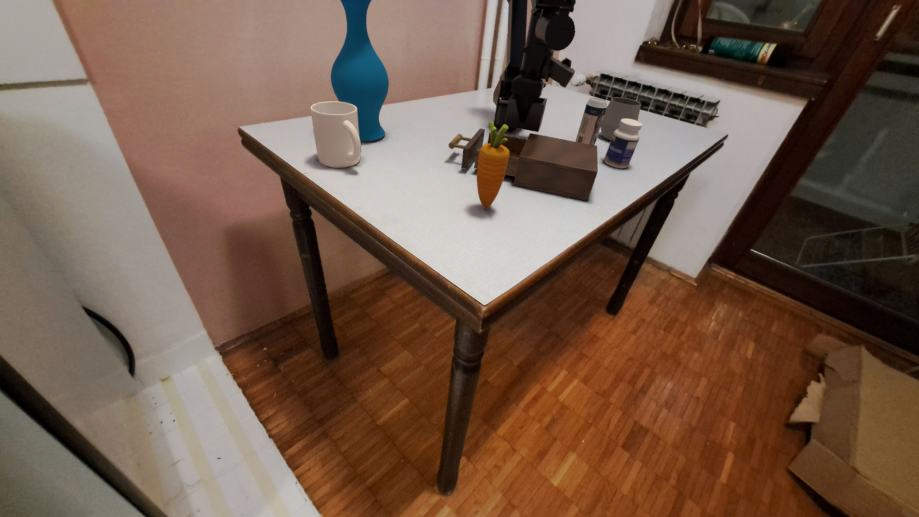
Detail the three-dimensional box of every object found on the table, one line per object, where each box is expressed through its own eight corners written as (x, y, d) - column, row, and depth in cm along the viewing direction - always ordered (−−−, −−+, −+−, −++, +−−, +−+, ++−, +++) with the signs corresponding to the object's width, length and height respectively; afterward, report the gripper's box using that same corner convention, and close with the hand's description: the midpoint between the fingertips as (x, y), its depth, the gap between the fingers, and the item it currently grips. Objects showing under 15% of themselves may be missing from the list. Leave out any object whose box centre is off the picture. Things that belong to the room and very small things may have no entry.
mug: (379, 169, 72) (376, 116, 66) (341, 179, 67) (334, 123, 61) (347, 149, 78) (342, 99, 72) (310, 157, 74) (302, 104, 67)
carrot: (470, 201, 66) (481, 115, 56) (496, 202, 66) (512, 118, 57) (473, 215, 62) (485, 126, 53) (501, 216, 62) (518, 128, 53)
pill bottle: (598, 160, 88) (613, 118, 82) (616, 158, 90) (631, 117, 84) (615, 170, 84) (631, 126, 78) (633, 167, 86) (650, 125, 80)
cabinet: (513, 185, 73) (519, 155, 69) (524, 159, 84) (529, 132, 80) (587, 201, 70) (597, 171, 66) (588, 172, 81) (597, 145, 78)
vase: (396, 130, 90) (395, -8, 73) (379, 148, 81) (373, -7, 63) (350, 123, 91) (338, -16, 74) (327, 140, 82) (307, -16, 64)
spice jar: (593, 155, 90) (609, 104, 83) (573, 151, 91) (588, 101, 83) (591, 148, 94) (607, 99, 87) (572, 145, 94) (587, 96, 87)
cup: (624, 147, 97) (639, 108, 91) (591, 137, 101) (603, 99, 95) (634, 139, 103) (648, 102, 97) (602, 130, 107) (614, 94, 101)
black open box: (504, 125, 85) (508, 98, 81) (509, 118, 89) (513, 92, 85) (538, 132, 83) (544, 104, 80) (541, 124, 88) (547, 98, 84)
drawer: (441, 163, 75) (443, 143, 72) (460, 143, 85) (462, 124, 83) (526, 182, 72) (530, 161, 69) (534, 158, 82) (539, 139, 80)
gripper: (577, 54, 67) (555, 137, 77) (580, 43, 81) (561, 114, 91) (517, 45, 69) (503, 127, 79) (531, 36, 83) (517, 106, 93)
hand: (524, 118), depth 85 cm, fingers closed on black open box, 6 cm apart
